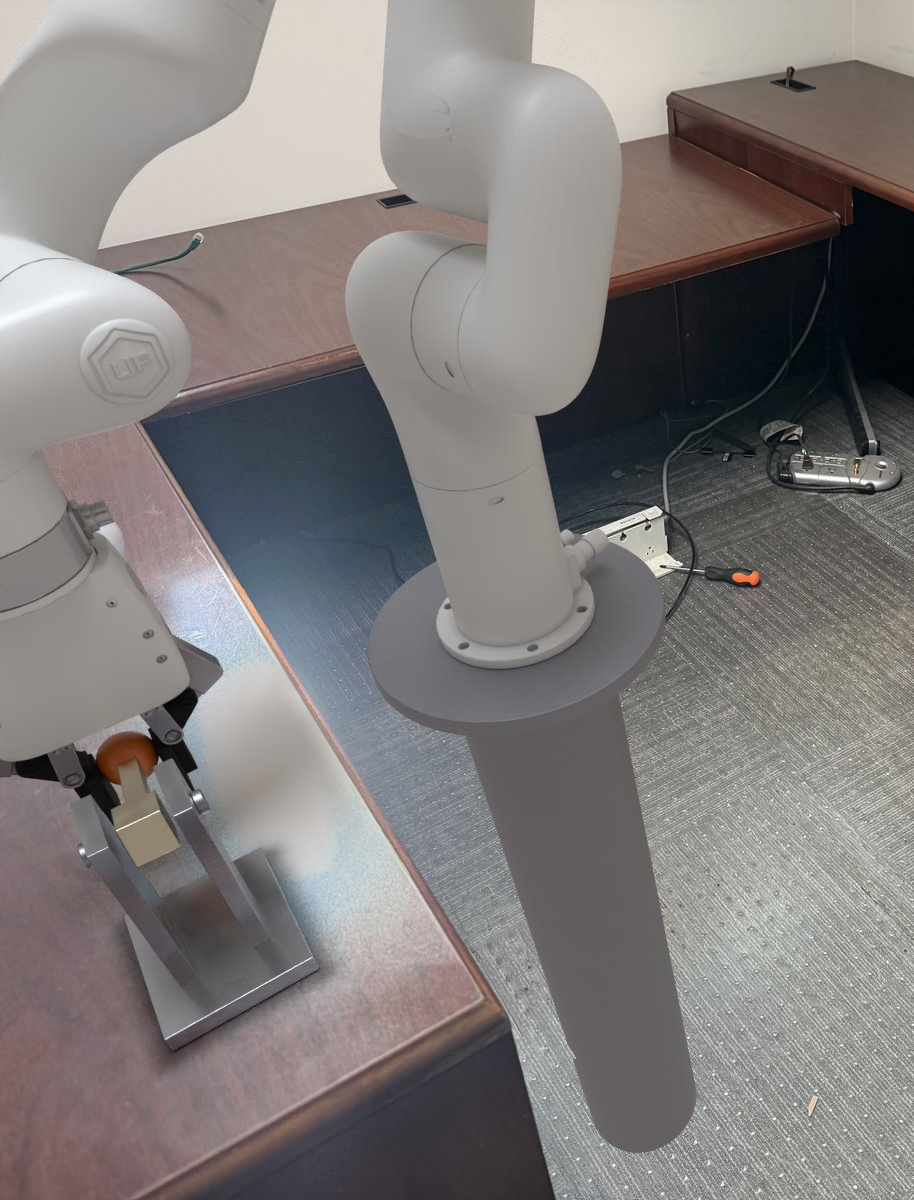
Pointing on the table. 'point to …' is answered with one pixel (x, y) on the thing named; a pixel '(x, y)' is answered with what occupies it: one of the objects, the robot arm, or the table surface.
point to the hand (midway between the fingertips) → (149, 794)
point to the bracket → (199, 919)
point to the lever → (137, 797)
